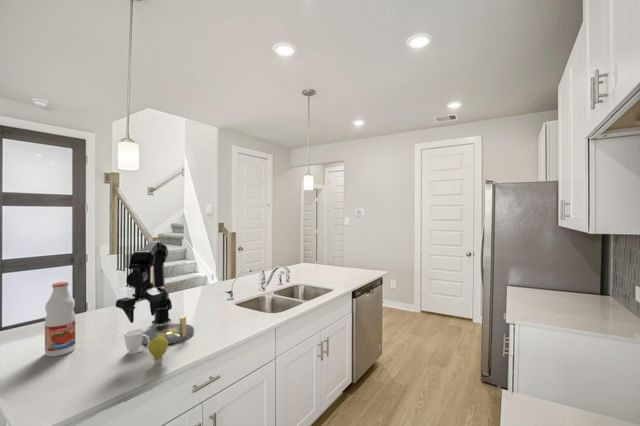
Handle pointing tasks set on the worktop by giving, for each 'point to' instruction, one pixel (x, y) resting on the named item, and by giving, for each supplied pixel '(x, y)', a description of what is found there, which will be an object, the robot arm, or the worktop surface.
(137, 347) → the cup
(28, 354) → the worktop surface
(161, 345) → the light bulb
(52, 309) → the fruit juice
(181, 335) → the turntable
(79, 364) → the worktop surface
